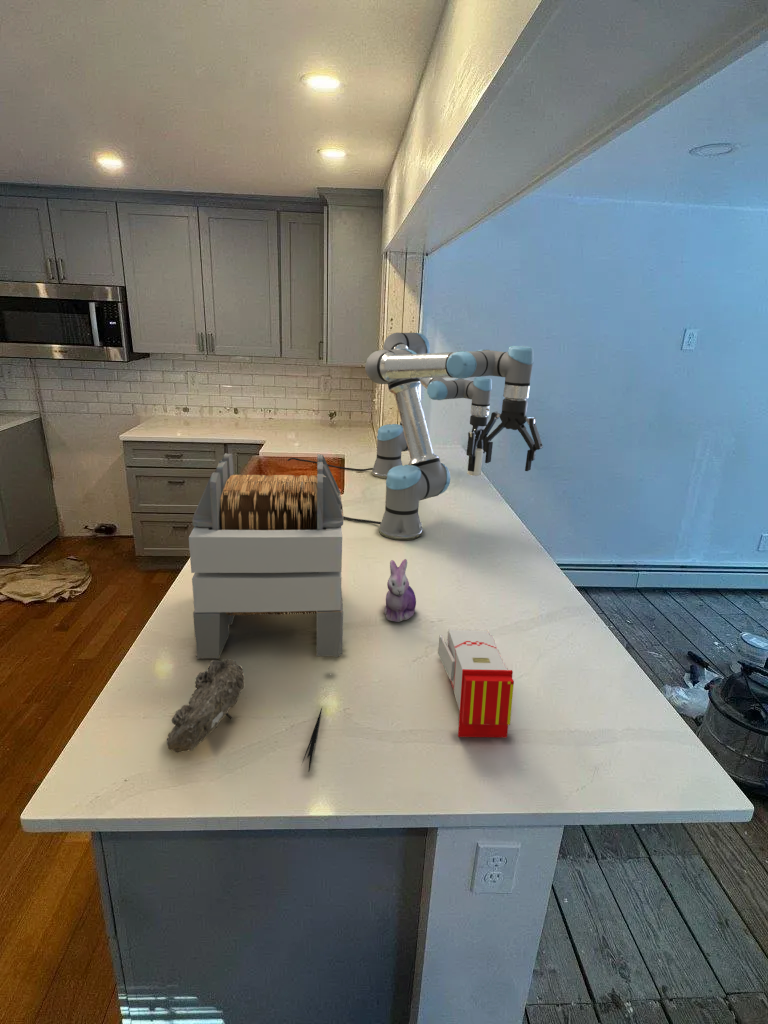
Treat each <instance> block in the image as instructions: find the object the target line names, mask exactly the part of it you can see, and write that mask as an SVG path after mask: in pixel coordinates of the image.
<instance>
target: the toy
mask: <svg viewBox="0 0 768 1024" xmlns="http://www.w3.org/2000/svg"><path fill="white" fill-rule="evenodd" d="M446 640H447V643H446V641H445V639H444V636H443V635H442V634H439V637H438V646H437V656H438V657H439V659H440V661H441V663H442V666H443V668H444V670H445V672H446V674H447V677H448V679H449V681H450V684H451V687H452V690H453V693H454V697H455V701H456V705H457V708H458V711H459V714H458V715H459V716H458V730H457V731H458V732H457V737H458V738H508V731H509V726H510V725H511V717H512V707H513V697H514V696H513V695H514V684H515V680H514V679H513V673H514V671H513V670H512V669H508V667H507V665H506V662H505V661H504V659H503V658H502V655H501V653H500V651H499V649H498V647H497V643H496V639H495V637H494V635H493V634H491V632H490V631H489V629H467V628H466V629H465V628H463V629H461V628H460V629H459V628H448V630H447V639H446Z"/></svg>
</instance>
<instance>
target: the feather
mask: <svg viewBox="0 0 768 1024" xmlns="http://www.w3.org/2000/svg"><path fill="white" fill-rule="evenodd" d="M329 675H330V676H331V675H332V674H331V673H330V674H329ZM322 710H323V707H321V708H320V710H319V713H318V716H317V719H316V723H315V725H314V728H313V731H312V733H311V737H310V739H309V742H308V745H307V748H306V751H305V754H304V757H303V760H302V763H301V767H302V765H303V763H304V761H305V758H308V759H309V760H308V762H307V763H308V764H307V766H308V771H310V770H311V766H312V765H311V764H312V760H313V757H315V756H314V755H315V751H316V749H315V746H317V739H318V733H319V729H320V722H321V717H322V712H323V711H322ZM313 754H314V755H313ZM306 755H307V757H306Z"/></svg>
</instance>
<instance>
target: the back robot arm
mask: <svg viewBox="0 0 768 1024" xmlns="http://www.w3.org/2000/svg"><path fill="white" fill-rule="evenodd" d="M396 349H407V350H412V351H414V352H416V353H417V354H427V353H430V351H431V344H430V341H429V339H428V337H426V335H424V334H423V333H420V332H393V333H391V334H389V335H388V336H387V337H386V338H385V340H384V342H383V347H382V350H396ZM419 379H420V385H419V387H418V392H419V396H420V400H421V401H422V386H423V387H424V388H425V389H426V393H427V396H428V398H429V399H430V400H432V401H443V400H455V399H468V400H471V405H470V417H469V424H470V426H472V427H471V431H468V432H467V437H468V439H467V445H466V457H467V456H468V460H469V461H468V462H467V471H472V472H474V468H475V458H476V456H475V452H476V448H479V449H482V450H483V454H486V452H484V444H485V442H484V441H483V440H481V439H480V438H479V437H480V435H481V434H482V432H483V430H484V429H485V427H486V425H487V424H488V422H489V416H490V411H491V409H490V407H491V397H492V391H493V379H492V378H491V377H488V376H481V377H473V380H469V379H465V378H462V379H459V378H454V379H453V380H451V379H450V380H445V378H419ZM428 432H429V433H430V430H429V429H428ZM402 452H409V450H408V446H407V442H406V438H405V434H404V430H403V426H402V422H401V421H400V422H399V424H398V423H387V424H384V425H381V426H380V427H379V428H378V429H377V435H376V459H375V461H374V464H373V466H372V467H368V468H353V467H344V466H338V465H333V464H328V463H327V465H328V467H329V468H335V469H340V470H348V471H357V472H365V471H366V472H367V471H371V475H372V476H374V477H376V478H378V479H379V478H380V479H385V480H386V479H387V473H388V471H389V470H390V469H391V468H393V467H396V466H400V465H403V462H402ZM291 460H295V461H298V462H306V463H310V464H311V463H312V464H317V461H314V460H309V459H303V458H302V459H301V458H297V457H290V458H288V459H287V460H286V461H287V462H289V461H291Z"/></svg>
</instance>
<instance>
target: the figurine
mask: <svg viewBox="0 0 768 1024" xmlns="http://www.w3.org/2000/svg"><path fill="white" fill-rule="evenodd" d="M407 567H408V559H406V558H404V559H403V560H402V561H401V563H400V565H399V566H398V565H397V563H396V562H395V561H394V560H393V559H391V560H390V561H389V570H390V576H389V578H388V579H387V589H388V591H387V592H386V594H385V595H386V596H385V607H384V615H385V616H386V620H387V621H391V622H395V623H400V622H402V621H406V620H409V619H410V618H411V617H413V616H414V615H415V610H416V606H417V597H416V593H415V591H414V590H413V587H411V586H410V582H409V579H408V577H407V574H406V571H407Z"/></svg>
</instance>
